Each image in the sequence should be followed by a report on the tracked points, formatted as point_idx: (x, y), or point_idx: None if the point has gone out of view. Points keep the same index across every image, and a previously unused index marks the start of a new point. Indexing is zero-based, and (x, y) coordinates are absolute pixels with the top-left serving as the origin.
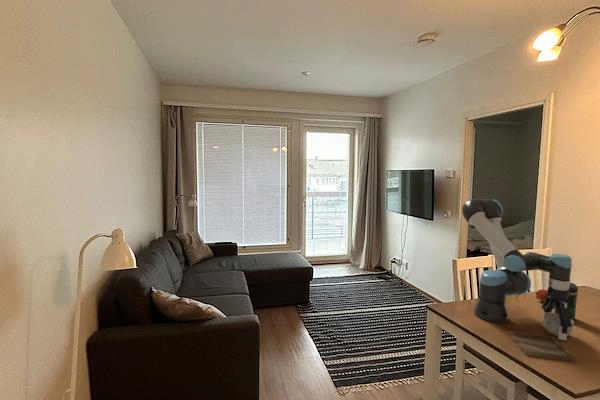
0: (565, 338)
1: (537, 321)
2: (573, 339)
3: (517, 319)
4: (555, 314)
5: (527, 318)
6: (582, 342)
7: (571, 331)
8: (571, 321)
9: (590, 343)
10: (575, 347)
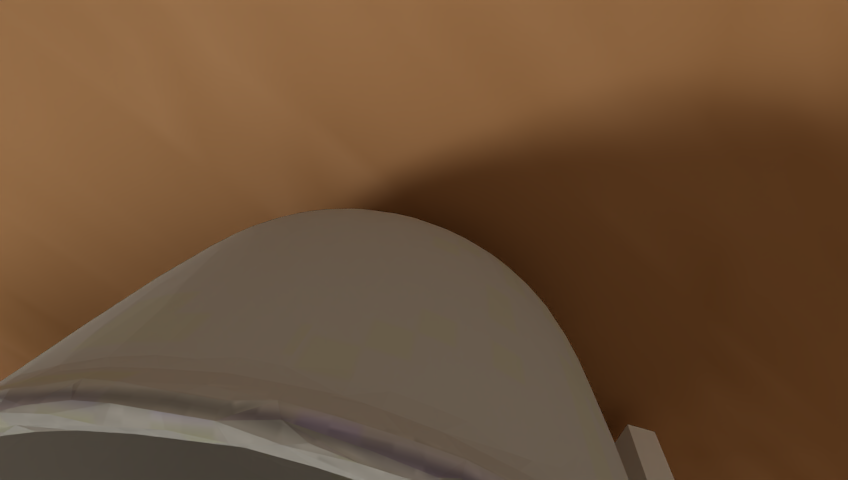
0: (658, 466)
1: (58, 305)
2: (582, 240)
3: None
4: None
5: (23, 357)
6: (715, 165)
7: (568, 347)
8: (365, 436)
9: (804, 3)
10: (822, 417)
